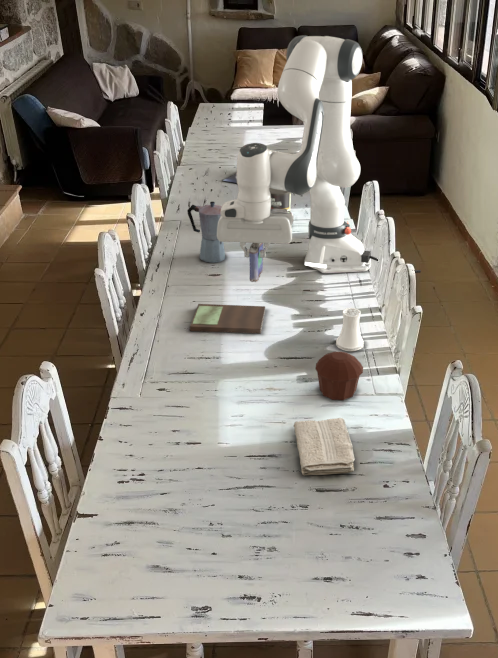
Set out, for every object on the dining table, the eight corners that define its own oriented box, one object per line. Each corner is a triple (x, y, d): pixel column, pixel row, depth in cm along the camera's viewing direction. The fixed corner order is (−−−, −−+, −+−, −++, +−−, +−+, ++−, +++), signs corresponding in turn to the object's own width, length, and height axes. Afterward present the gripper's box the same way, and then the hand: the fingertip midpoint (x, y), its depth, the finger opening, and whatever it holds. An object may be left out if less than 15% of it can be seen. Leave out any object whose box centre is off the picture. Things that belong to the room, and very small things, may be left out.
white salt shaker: (348, 334, 204) (350, 303, 199) (369, 344, 200) (371, 312, 194) (330, 344, 200) (331, 311, 194) (350, 354, 195) (352, 321, 190)
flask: (257, 282, 199) (256, 245, 193) (247, 281, 199) (246, 245, 194) (264, 269, 207) (263, 233, 201) (254, 268, 207) (253, 232, 201)
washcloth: (301, 478, 152) (302, 467, 151) (291, 427, 167) (292, 416, 166) (357, 474, 154) (358, 463, 152) (342, 424, 169) (343, 413, 167)
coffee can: (284, 232, 269) (284, 195, 261) (259, 228, 272) (258, 191, 264) (294, 223, 277) (295, 186, 269) (270, 219, 280) (269, 183, 272)
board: (265, 310, 216) (265, 305, 215) (260, 333, 204) (260, 328, 203) (198, 308, 217) (198, 303, 216) (190, 331, 205) (189, 326, 204)
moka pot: (229, 265, 243) (226, 208, 232) (185, 261, 245) (180, 204, 235) (236, 254, 251) (234, 198, 240) (194, 250, 253) (190, 194, 243)
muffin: (308, 397, 178) (309, 362, 172) (322, 374, 187) (323, 340, 181) (354, 407, 175) (357, 372, 169) (367, 383, 183) (369, 349, 178)
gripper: (294, 205, 194) (293, 253, 202) (218, 202, 195) (220, 251, 202) (292, 213, 189) (292, 262, 196) (214, 211, 190) (216, 260, 197)
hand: (255, 256), depth 199 cm, fingers closed on flask, 3 cm apart
